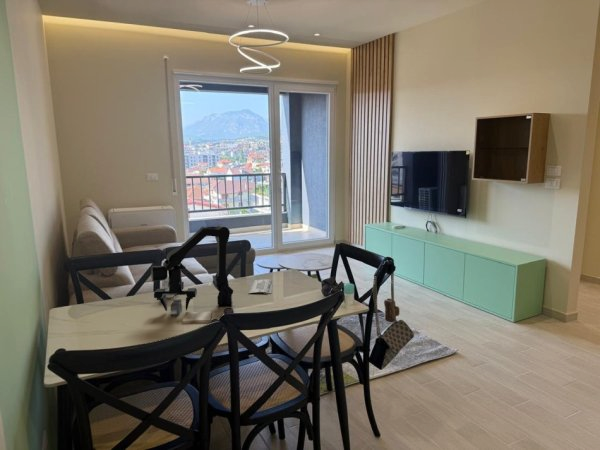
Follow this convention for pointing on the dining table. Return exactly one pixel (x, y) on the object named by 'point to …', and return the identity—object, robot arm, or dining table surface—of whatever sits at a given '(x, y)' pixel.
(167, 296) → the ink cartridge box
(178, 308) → the connector
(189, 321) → the oak board
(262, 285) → the newspaper
